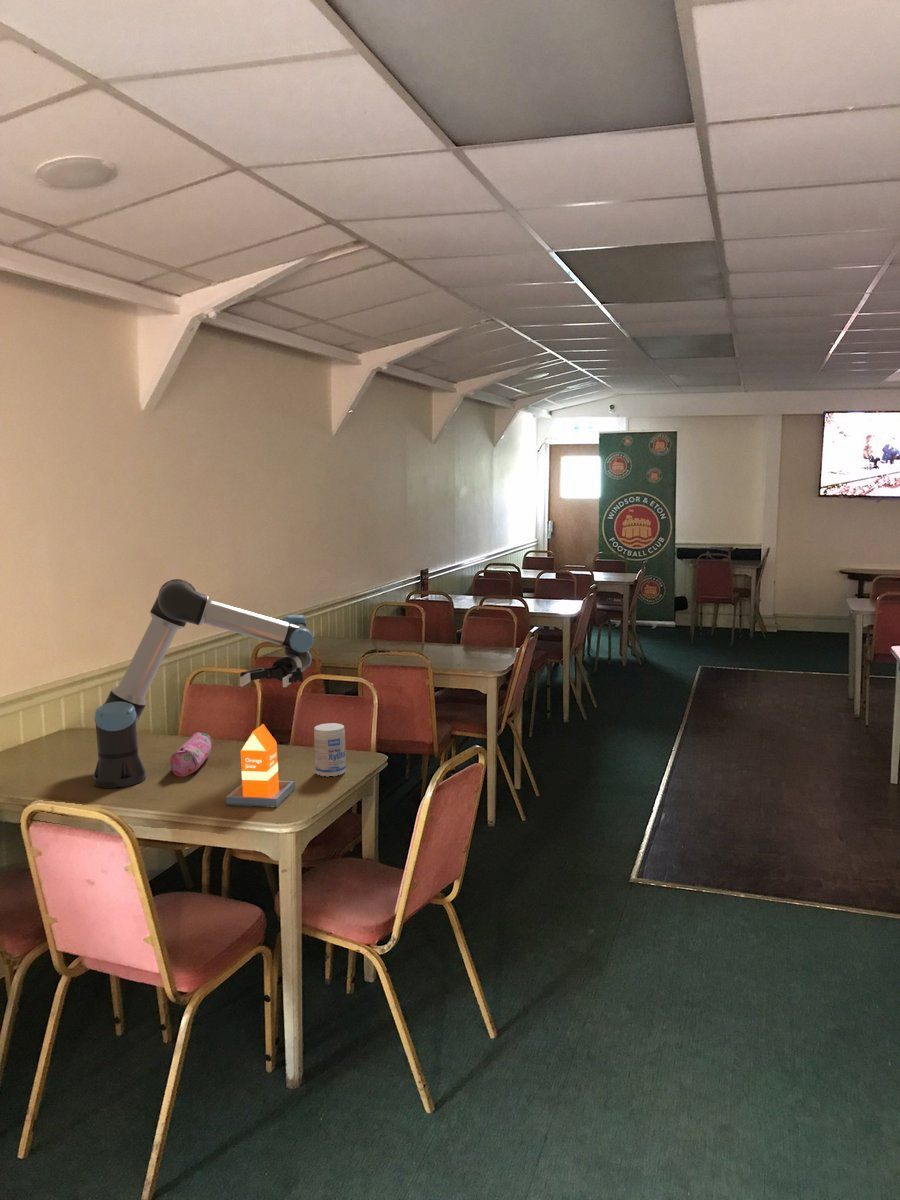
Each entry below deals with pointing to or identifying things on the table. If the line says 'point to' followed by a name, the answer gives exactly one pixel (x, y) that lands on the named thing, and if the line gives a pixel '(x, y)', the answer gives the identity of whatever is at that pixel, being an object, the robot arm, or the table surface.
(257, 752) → the orange juice
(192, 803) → the table surface
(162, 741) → the table surface
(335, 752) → the supplement tub
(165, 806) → the table surface
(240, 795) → the dish
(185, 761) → the pencil case
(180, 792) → the table surface
